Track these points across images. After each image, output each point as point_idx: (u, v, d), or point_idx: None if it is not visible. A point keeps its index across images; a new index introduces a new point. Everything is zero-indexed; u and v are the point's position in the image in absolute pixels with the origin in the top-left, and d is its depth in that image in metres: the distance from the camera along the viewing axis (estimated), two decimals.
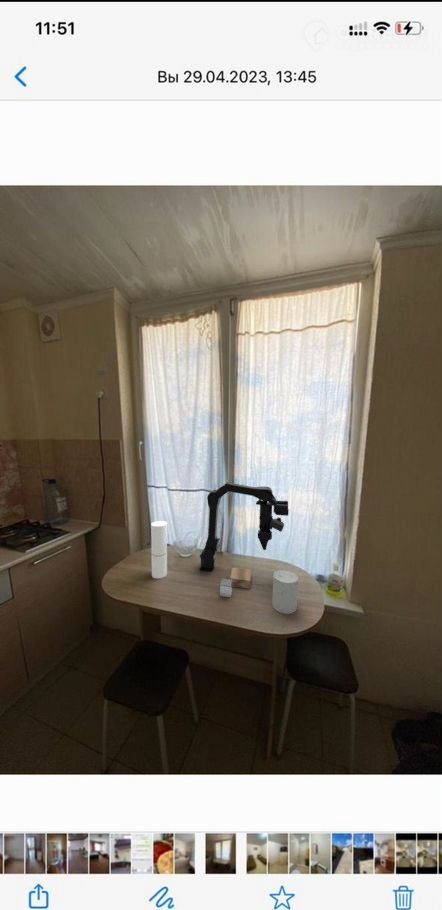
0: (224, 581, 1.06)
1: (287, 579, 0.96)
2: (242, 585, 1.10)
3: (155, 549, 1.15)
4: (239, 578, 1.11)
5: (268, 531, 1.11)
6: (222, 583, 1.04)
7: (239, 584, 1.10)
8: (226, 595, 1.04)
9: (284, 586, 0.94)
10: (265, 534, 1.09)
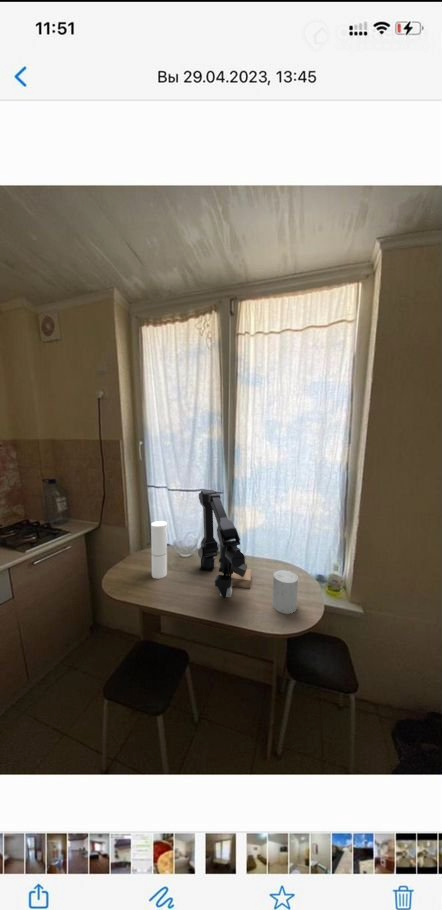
0: None
1: (287, 579, 0.96)
2: (242, 584, 1.10)
3: (155, 549, 1.15)
4: (239, 577, 1.11)
5: (227, 578, 0.97)
6: None
7: (239, 583, 1.10)
8: (226, 595, 1.04)
9: (284, 586, 0.94)
10: (222, 582, 0.96)
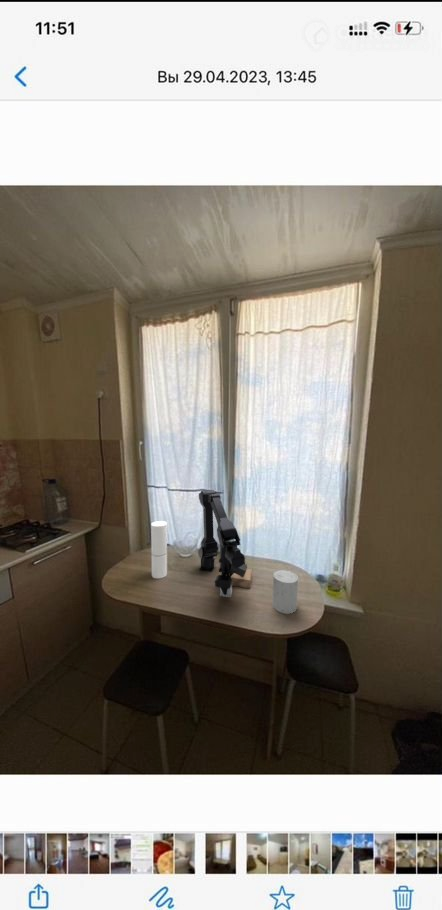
0: None
1: (287, 579, 0.96)
2: (242, 584, 1.10)
3: (155, 549, 1.15)
4: (239, 577, 1.11)
5: (227, 578, 0.97)
6: None
7: (239, 583, 1.11)
8: (226, 595, 1.03)
9: (284, 586, 0.94)
10: (222, 583, 0.96)
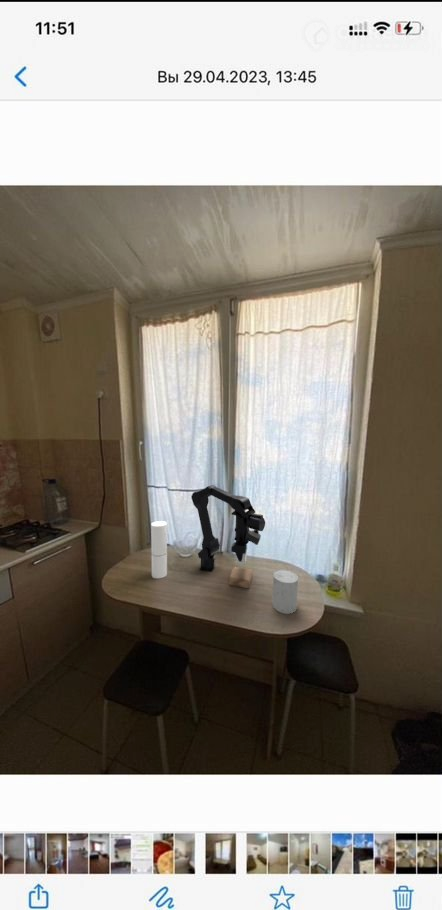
0: None
1: (287, 579, 0.96)
2: (241, 584, 1.10)
3: (155, 549, 1.15)
4: (239, 577, 1.11)
5: (242, 545, 1.05)
6: None
7: (238, 583, 1.11)
8: (241, 562, 1.11)
9: (284, 586, 0.94)
10: (238, 548, 1.04)
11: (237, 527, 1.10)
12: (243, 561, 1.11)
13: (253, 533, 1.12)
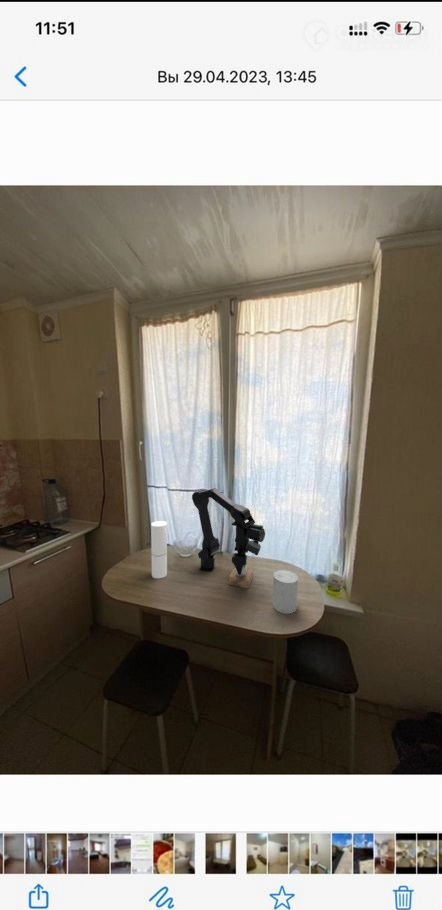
0: None
1: (287, 579, 0.96)
2: (241, 584, 1.10)
3: (155, 549, 1.15)
4: (238, 577, 1.12)
5: (243, 555, 1.06)
6: None
7: (238, 583, 1.11)
8: (241, 575, 1.12)
9: (284, 586, 0.94)
10: (239, 559, 1.04)
11: (237, 538, 1.11)
12: (243, 574, 1.12)
13: (253, 543, 1.12)
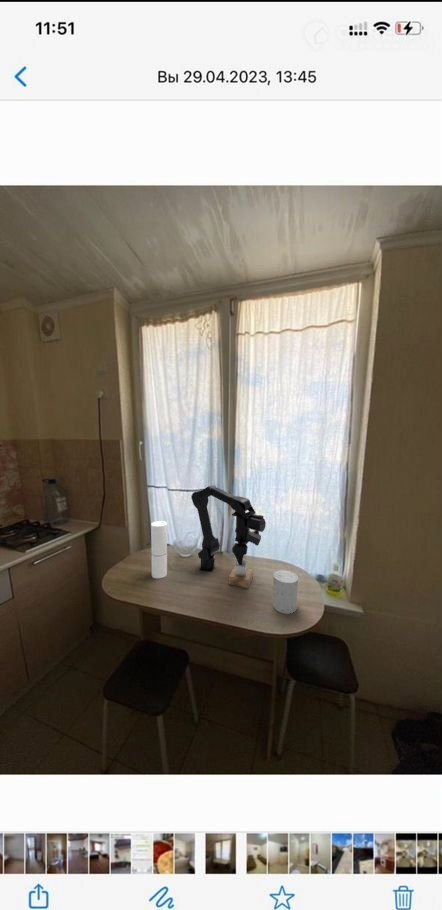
0: None
1: (287, 579, 0.96)
2: (241, 584, 1.11)
3: (155, 549, 1.15)
4: (238, 576, 1.12)
5: (243, 545, 1.05)
6: (237, 563, 1.13)
7: (238, 582, 1.11)
8: (241, 574, 1.12)
9: (284, 586, 0.94)
10: (239, 549, 1.04)
11: (238, 528, 1.10)
12: (243, 574, 1.12)
13: (253, 534, 1.12)
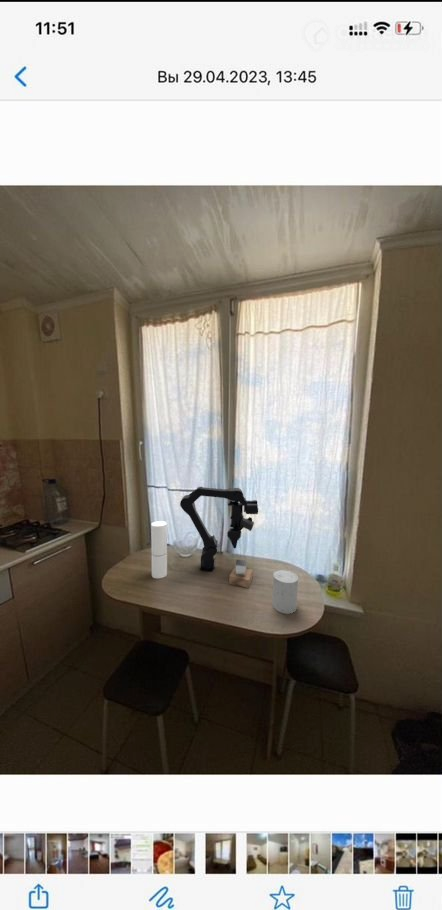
0: (239, 561, 1.15)
1: (287, 579, 0.96)
2: (241, 583, 1.11)
3: (155, 549, 1.15)
4: (238, 576, 1.12)
5: (237, 530, 1.17)
6: (237, 563, 1.14)
7: (238, 582, 1.11)
8: (241, 574, 1.13)
9: (284, 586, 0.94)
10: (234, 533, 1.15)
11: (232, 515, 1.22)
12: (243, 573, 1.13)
13: (247, 520, 1.23)
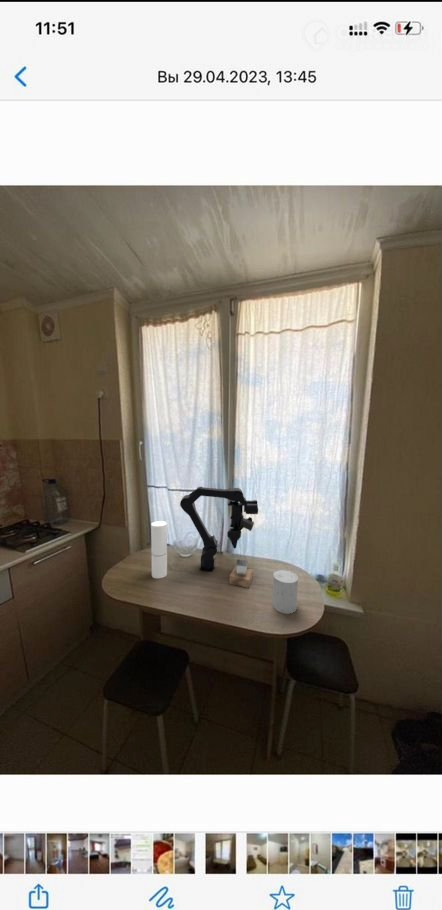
0: (240, 561, 1.15)
1: (287, 579, 0.96)
2: (241, 583, 1.11)
3: (155, 549, 1.15)
4: (239, 576, 1.12)
5: (237, 530, 1.17)
6: (238, 563, 1.14)
7: (238, 582, 1.11)
8: (242, 574, 1.13)
9: (284, 586, 0.94)
10: (234, 533, 1.15)
11: (232, 515, 1.22)
12: (244, 573, 1.13)
13: (247, 520, 1.23)
